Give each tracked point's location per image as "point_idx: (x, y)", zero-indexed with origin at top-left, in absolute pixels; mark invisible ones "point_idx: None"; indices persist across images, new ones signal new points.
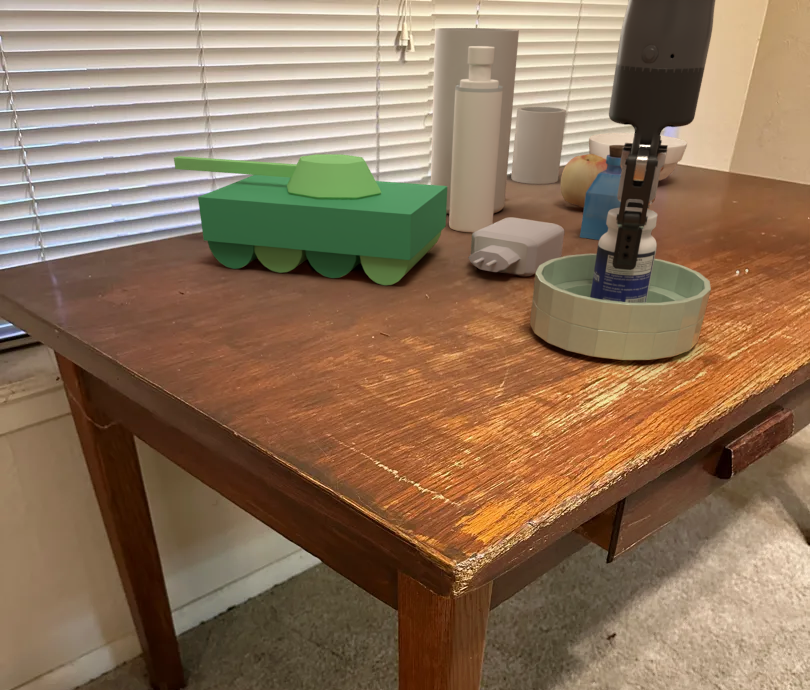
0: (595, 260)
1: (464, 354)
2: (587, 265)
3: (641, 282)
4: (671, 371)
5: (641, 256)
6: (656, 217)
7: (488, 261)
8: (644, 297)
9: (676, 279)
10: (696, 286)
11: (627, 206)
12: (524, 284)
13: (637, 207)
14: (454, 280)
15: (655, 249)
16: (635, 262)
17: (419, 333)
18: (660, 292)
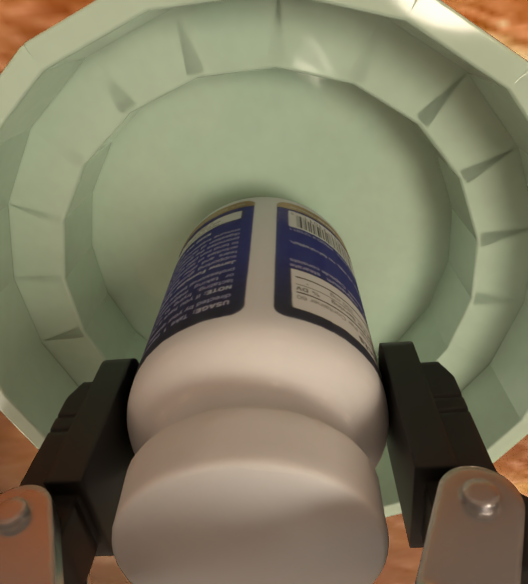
0: (50, 422)
1: (506, 475)
2: None
3: (336, 273)
4: (521, 32)
5: (362, 350)
6: (264, 454)
7: None
8: (298, 226)
9: (9, 140)
10: (105, 40)
11: (85, 578)
12: (20, 470)
13: (74, 546)
14: (91, 566)
15: (277, 317)
16: (414, 355)
17: (416, 548)
18: (70, 175)
